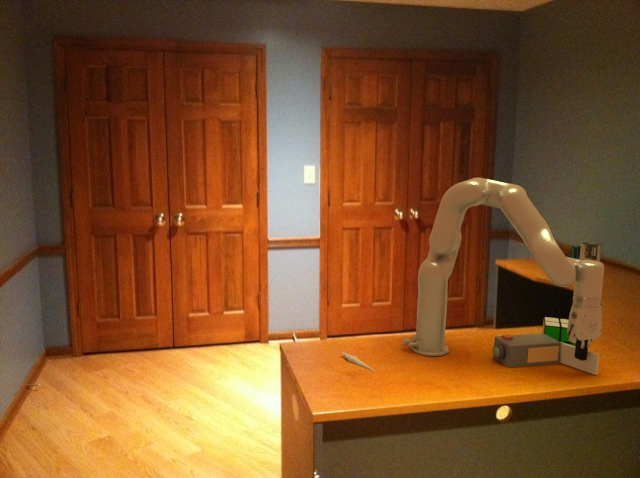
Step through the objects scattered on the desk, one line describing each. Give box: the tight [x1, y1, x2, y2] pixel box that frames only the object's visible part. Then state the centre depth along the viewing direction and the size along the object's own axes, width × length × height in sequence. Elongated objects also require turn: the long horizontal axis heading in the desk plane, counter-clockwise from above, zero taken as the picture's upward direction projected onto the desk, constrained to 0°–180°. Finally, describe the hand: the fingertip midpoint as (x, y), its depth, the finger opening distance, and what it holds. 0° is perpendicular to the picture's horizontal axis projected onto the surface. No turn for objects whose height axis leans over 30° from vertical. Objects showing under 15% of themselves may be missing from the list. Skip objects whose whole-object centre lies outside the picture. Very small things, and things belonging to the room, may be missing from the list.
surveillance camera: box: [563, 244, 581, 260], centre depth 330 cm, size 6×12×10 cm
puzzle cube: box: [541, 316, 575, 346], centre depth 194 cm, size 10×10×10 cm
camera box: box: [492, 332, 560, 368], centre depth 185 cm, size 20×9×8 cm, turn 104°
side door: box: [558, 342, 600, 376], centre depth 179 cm, size 13×2×7 cm, turn 37°
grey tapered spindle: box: [341, 351, 375, 372], centre depth 179 cm, size 15×3×2 cm, turn 39°
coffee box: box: [580, 241, 602, 262], centre depth 311 cm, size 9×6×16 cm
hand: (580, 358), depth 176 cm, fingers closed
